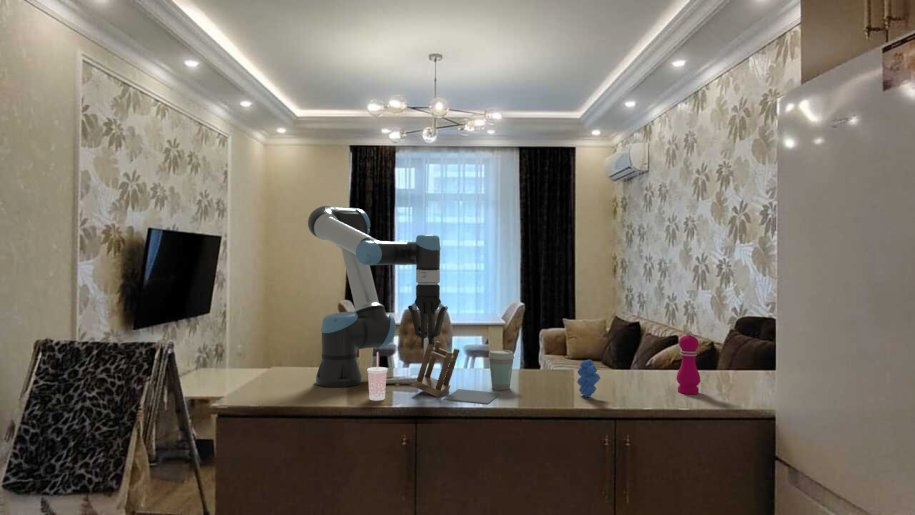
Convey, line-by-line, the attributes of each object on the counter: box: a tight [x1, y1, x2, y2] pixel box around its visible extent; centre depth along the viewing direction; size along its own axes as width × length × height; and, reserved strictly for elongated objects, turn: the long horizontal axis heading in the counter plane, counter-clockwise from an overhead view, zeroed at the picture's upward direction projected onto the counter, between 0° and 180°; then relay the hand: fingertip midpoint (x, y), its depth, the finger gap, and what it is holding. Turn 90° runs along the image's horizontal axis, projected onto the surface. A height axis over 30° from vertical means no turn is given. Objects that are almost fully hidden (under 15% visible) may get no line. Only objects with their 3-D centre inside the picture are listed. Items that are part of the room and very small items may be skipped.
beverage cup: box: [366, 351, 389, 401], centre depth 177 cm, size 6×6×14 cm
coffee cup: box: [487, 349, 515, 391], centre depth 194 cm, size 9×8×12 cm
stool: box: [412, 340, 461, 398], centre depth 185 cm, size 9×9×14 cm
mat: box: [442, 388, 501, 405], centre depth 181 cm, size 14×14×1 cm
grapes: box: [576, 359, 601, 398], centre depth 182 cm, size 12×7×12 cm, turn 10°
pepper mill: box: [675, 330, 701, 395], centre depth 191 cm, size 7×7×20 cm
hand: (427, 358), depth 186 cm, fingers closed
